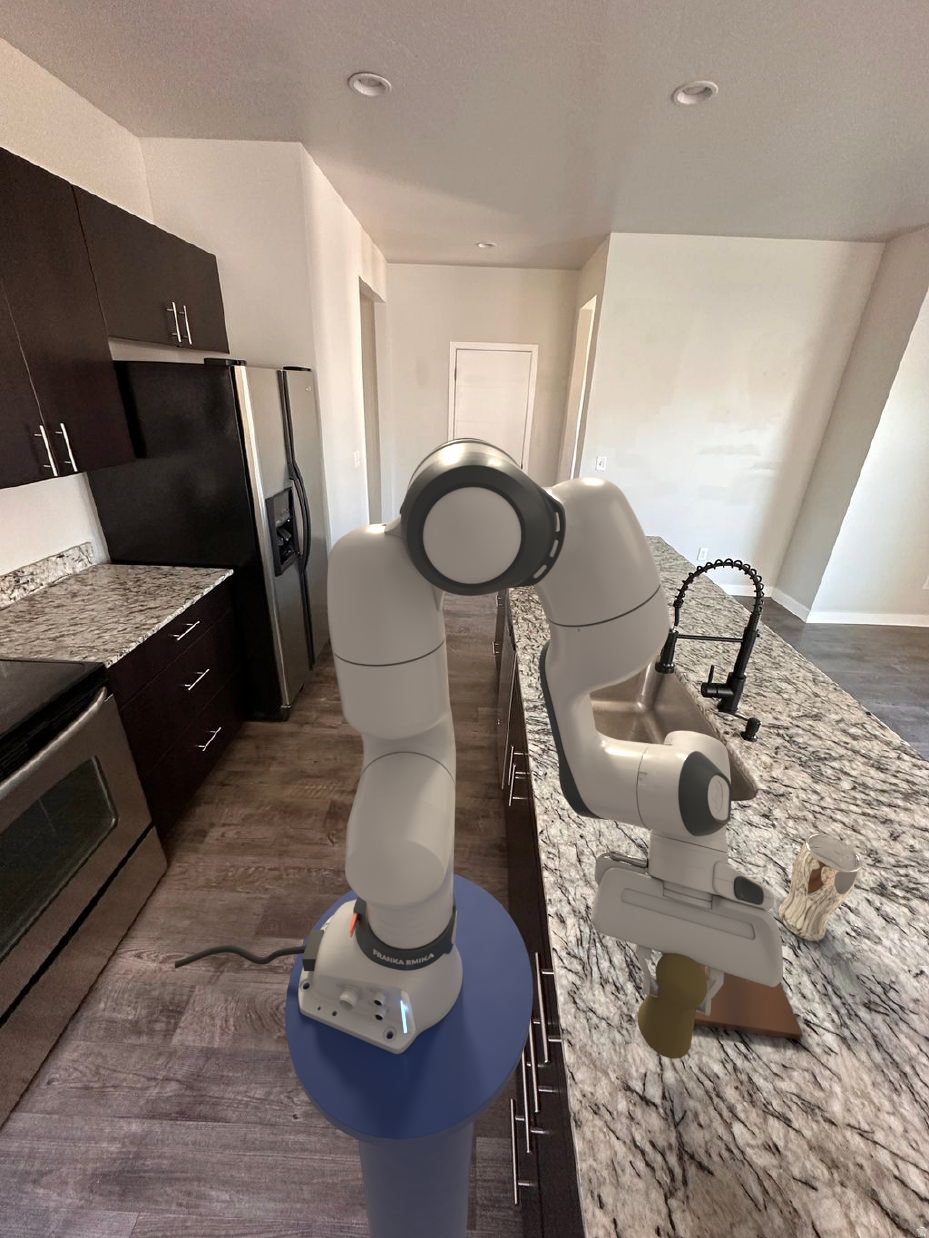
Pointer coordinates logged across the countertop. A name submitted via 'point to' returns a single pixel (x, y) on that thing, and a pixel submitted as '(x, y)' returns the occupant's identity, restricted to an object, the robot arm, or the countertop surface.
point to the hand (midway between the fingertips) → (675, 1003)
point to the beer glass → (818, 885)
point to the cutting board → (750, 1009)
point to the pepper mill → (673, 1005)
